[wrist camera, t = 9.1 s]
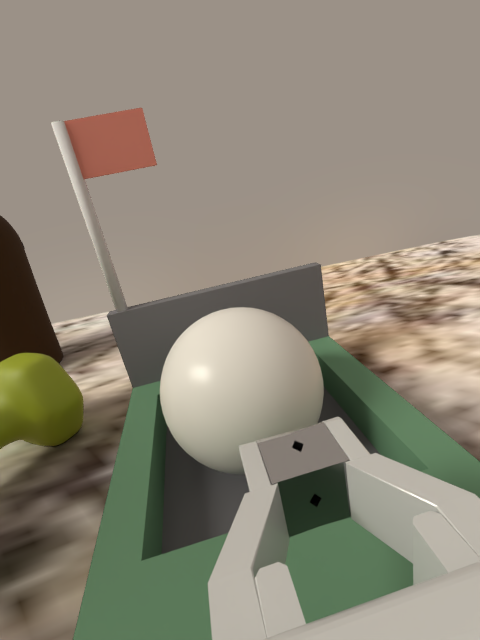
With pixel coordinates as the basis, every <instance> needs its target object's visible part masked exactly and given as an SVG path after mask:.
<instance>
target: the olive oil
mask: <svg viewBox="0 0 480 640" xmlns="http://www.w3.org/2000/svg"><path fill="white" fill-rule="evenodd" d="M19 353H38V354H44V355H47V356H50V357H52V358H53V359H54V360H55V361H57V362H58V363H59V362H60V361H61V360H62V358H63V353H62V350H61V348H60V345H59V343H58V340H57V337H56V335H55V332H54V330H53V327H52V325H51V322H50V319H49V317H48V314H47V311H46V309H45V306H44V303H43V300H42V298H41V295H40V292H39V290H38V287H37V284H36V281H35V279H34V276H33V273H32V270H31V267H30V264H29V262H28V259H27V256H26V253H25V250H24V246H23V243H22V242H21V240H20V238H19V236H18V234H17V233H16V231H15V230H14V229H13V227H12V226H11V225H10V224H9V223H8V222H7V221H6V220H5V219H4V218H3V217H2V216H0V362H2V361H3V360H5V359H7V358H9V357H11V356H13V355H16V354H19Z"/></svg>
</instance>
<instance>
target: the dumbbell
mask: <svg viewBox="0 0 480 640" xmlns="http://www.w3.org/2000/svg"><path fill="white" fill-rule="evenodd" d="M82 422H83V396H82V393H81V391H80V390H79V388H78V386H77V385H76V383H75V382H74V381H73V380H72V378H71V377H70V376H69V375H68V374H67V372H66V371H65V370H64V369H63V368H62V366H61V365H60V364H59V363H58V362H57V361H55V360H54V359H53V358H52V357H50V356H47V355H44V354H38V353H19V354H16V355H13V356H11V357H9V358H7V359H5V360H3V361H2V362H0V449H1V448H3V447H4V446H6V445H7V444H9V443H11V442H14V441H17V440H24V441H27V442H29V443H32V444H36V445H41V446H56V445H60V444H62V443H64V442H65V441H67V440H68V439H69V438H71V437H72V436H73V435H74V434H76V433H77V432H78V431H79V429H80V428H81V426H82Z"/></svg>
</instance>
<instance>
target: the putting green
mask: <svg viewBox="0 0 480 640" xmlns="http://www.w3.org/2000/svg"><path fill="white" fill-rule="evenodd" d="M51 124H52V127H53V130H54V133H55V136H56V139H57V142H58V145H59V148H60V150H61V153H62V156H63V159H64V162H65V165H66V168H67V171H68V174H69V176H70V179H71V182H72V185H73V188H74V191H75V194H76V197H77V199H78V202H79V205H80V208H81V211H82V214H83V216H84V220H85V222H86V225H87V228H88V231H89V234H90V237H91V240H92V243H93V245H94V248H95V251H96V254H97V257H98V260H99V263H100V265H101V269H102V271H103V274H104V277H105V280H106V283H107V286H108V289H109V291H110V294H111V297H112V300H113V303H114V306H115V309H116V310H114V311H110V312H109V313H108V315H107V317H108V320H109V323H110V326H111V329H112V331H113V334H114V337H115V340H116V342H117V345H118V348H119V351H120V354H121V356H122V359H123V362H124V365H125V367H126V370H127V373H128V376H129V379H130V381H131V384H132V387H133V390H132V394H131V398H130V402H129V407H128V411H127V415H126V419H125V423H124V428H123V432H122V436H121V440H120V444H119V449H118V453H117V457H116V461H115V465H114V470H113V474H112V478H111V482H110V486H109V491H108V495H107V499H106V503H105V507H104V511H103V516H102V520H101V524H100V528H99V532H98V537H97V541H96V545H95V549H94V553H93V558H92V562H91V566H90V570H89V574H88V579H87V583H86V587H85V591H84V595H83V600H82V604H81V608H80V612H79V616H78V621H77V625H76V629H75V633H74V637H73V640H212V632H211V619H210V607H209V594H208V581H209V579H210V577H211V574H212V572H213V569H214V567H215V564H216V562H217V560H218V557H219V555H220V552H221V550H222V548H223V545H224V543H225V540H226V538H227V535H228V533H229V531H230V528H231V526H232V523H233V521H234V518H235V516H236V514H237V511H238V509H239V506H240V504H241V502H242V499H243V497H244V494H245V493H248V492H249V488H248V484H247V480H246V476H245V474H242V475H237V474H229V473H224V472H220V471H217V470H214V469H211V468H209V467H207V466H205V465H203V464H201V463H199V462H198V461H196V460H195V459H194V458H193V457H191V456H190V455H189V454H188V453H186V452H185V451H184V449H183V448H182V447H181V446H180V445H179V444H178V443H177V441H176V440H175V438H174V437H173V435H172V434H171V432H170V430H169V428H168V426H167V424H166V421H165V418H164V415H163V412H162V407H161V402H160V381H161V375H162V370H163V366H164V363H165V361H166V358H167V356H168V354H169V352H170V350H171V348H172V346H173V345H174V343H175V342H176V340H177V339H178V338H179V337H180V335H181V334H182V333H183V332H184V331H185V330H186V329H187V328H188V327H190V326H191V325H192V324H193V323H195V322H196V321H198V320H199V319H201V318H202V317H204V316H206V315H208V314H210V313H213V312H216V311H219V310H223V309H228V308H236V307H247V308H256V309H261V310H264V311H267V312H270V313H273V314H275V315H277V316H279V317H281V318H283V319H284V320H286V321H287V322H289V323H290V324H292V325H293V326H294V327H295V328H296V329H297V330H298V331H299V332H300V333H301V334H302V335H303V336H304V337H305V338H306V340H307V341H308V342H309V344H310V346H311V347H312V349H313V350H314V353H315V355H316V357H317V359H318V362H319V365H320V368H321V372H322V377H323V386H324V395H323V405H322V410H321V414H320V418H319V420H318V423H320V422H322V421H325V420H328V419H332V418H335V417H340V418H342V420H343V421H344V422H345V423H346V425H347V426H348V427H349V428H350V430H351V431H352V432H353V433H354V434H355V436H356V437H357V438H358V439H359V441H360V442H361V443H362V444H363V446H364V447H365V448H366V449H367V451H368V452H369V453H370V454H374V453H377V454H380V455H382V456H384V457H387V458H389V459H392V460H394V461H396V462H399V463H401V464H404V465H406V466H408V467H411V468H413V469H416V470H418V471H420V472H423V473H425V474H428V475H430V476H432V477H435V478H437V479H440V480H442V481H444V482H447V483H449V484H452V485H454V486H456V487H459V488H461V489H464V490H466V491H468V492H471V493H473V494H475V495H476V496H477V497H479V498H480V462H479V461H478V460H477V459H476V458H475V457H473V456H472V455H471V454H470V453H469V452H467V451H466V450H465V449H464V448H463V447H461V446H460V445H459V444H458V443H457V442H455V441H454V440H453V439H452V438H451V437H449V436H448V435H447V434H446V433H445V432H443V431H442V430H441V429H440V428H439V427H437V426H436V425H435V424H434V423H433V422H431V421H430V420H429V419H428V418H427V417H425V416H424V415H423V414H422V413H420V412H419V411H418V410H417V409H416V408H414V407H413V406H412V405H411V404H410V403H408V402H407V401H406V400H405V399H404V398H402V397H401V396H400V395H399V394H398V393H396V392H395V391H394V390H393V389H392V388H390V387H389V386H388V385H387V384H386V383H384V382H383V381H382V380H381V379H380V378H378V377H377V376H376V375H375V374H374V373H372V372H371V371H370V370H369V369H368V368H366V367H365V366H364V365H363V364H362V363H360V362H359V361H358V360H357V359H355V358H354V357H353V356H352V355H351V354H349V353H348V352H347V351H346V350H345V349H343V348H342V347H341V346H340V345H339V344H337V343H336V342H335V341H334V340H333V339H331V338H330V337H329V335H328V326H327V317H326V308H325V299H324V290H323V281H322V272H321V265H320V264H318V263H311V264H307V265H303V266H298V267H294V268H290V269H286V270H282V271H277V272H273V273H269V274H265V275H261V276H256V277H252V278H249V279H244V280H240V281H236V282H232V283H227V284H223V285H219V286H215V287H211V288H206V289H202V290H198V291H194V292H189V293H185V294H181V295H177V296H173V297H169V298H164V299H161V300H156V301H152V302H148V303H144V304H139V305H135V306H131V307H127V305H126V302H125V299H124V296H123V293H122V290H121V287H120V284H119V281H118V278H117V275H116V272H115V269H114V266H113V263H112V260H111V257H110V254H109V251H108V248H107V245H106V242H105V239H104V236H103V233H102V230H101V227H100V224H99V221H98V218H97V215H96V212H95V209H94V206H93V203H92V200H91V197H90V194H89V191H88V188H87V185H86V182H85V179H88V178H93V177H98V176H103V175H109V174H114V173H119V172H124V171H129V170H134V169H139V168H145V167H149V166H155V165H157V163H156V160H155V156H154V152H153V148H152V144H151V140H150V136H149V133H148V129H147V125H146V121H145V117H144V113H143V109H142V108H136V109H131V110H125V111H119V112H114V113H108V114H102V115H96V116H91V117H86V118H80V119H74V120H68V121H55V122H52V123H51ZM289 539H290V540H289V546H288V551H287V557H286V562H285V565H287V567H288V570H289V573H290V576H291V579H292V582H293V585H294V588H295V591H296V594H297V597H298V600H299V604H300V607H301V610H302V613H303V616H304V619H305V622H306V624H307V623H310V622H313V621H315V620H318V619H321V618H324V617H327V616H329V615H332V614H335V613H338V612H340V611H343V610H346V609H349V608H351V607H354V606H357V605H360V604H363V603H365V602H368V601H371V600H374V599H376V598H379V597H382V596H385V595H387V594H390V593H393V592H396V591H398V590H401V589H404V588H407V587H409V586H412V585H413V563H411V562H410V561H409V560H407V559H406V558H405V557H403V556H402V555H400V554H399V553H398V552H396V551H395V550H394V549H392V548H391V547H389V546H388V545H387V544H385V543H384V542H383V541H381V540H380V539H378V538H377V537H376V536H374V535H373V534H372V533H370V532H369V531H367V530H366V529H365V528H363V527H362V526H361V525H359V524H358V523H356V522H355V521H354V520H352V519H351V517H350V518H346V519H343V520H340V521H336V522H333V523H329V524H326V525H323V526H319V527H317V528H314V529H311V530H308V531H306V532H303V533H300V534H297V535H295V536H292V537H289Z"/></svg>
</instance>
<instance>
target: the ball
mask: <svg viewBox="0 0 480 640" xmlns="http://www.w3.org/2000/svg"><path fill="white" fill-rule="evenodd" d="M323 395H324V386H323V377H322V372H321V368H320V365H319V362H318V359H317V357H316V355H315V353H314V350H313V349H312V347H311V346H310V344H309V342H308V341H307V340H306V338H305V337H304V336H303V335H302V334H301V333H300V332H299V331H298V330H297V329H296V328H295V327H294V326H293V325H292V324H290V323H289V322H287V321H286V320H284V319H283V318H281V317H279V316H277V315H275V314H273V313H270V312H267V311H264V310H261V309H256V308H247V307H236V308H228V309H223V310H219V311H216V312H213V313H210V314H208V315H206V316H204V317H202V318H201V319H199V320H198V321H196V322H195V323H193V324H192V325H191V326H190V327H188V328H187V329H186V330H185V331H184V332H183V333H182V334H181V335H180V337H179V338H178V339H177V340H176V342H175V343H174V345H173V346H172V348H171V350H170V352H169V354H168V356H167V358H166V361H165V363H164V366H163V370H162V375H161V381H160V402H161V407H162V412H163V415H164V418H165V421H166V424H167V426H168V428H169V430H170V432H171V434H172V435H173V437H174V438H175V440H176V441H177V443H178V444H179V445H180V446H181V447H182V448H183V449H184V451H185V452H186V453H188V454H189V455H190V456H191V457H193V458H194V459H195V460H196V461H198V462H199V463H201V464H203V465H205V466H207V467H209V468H211V469H214V470H217V471H220V472H224V473H229V474H237V475H242V474H245V472H244V468H243V464H242V460H241V456H240V452H239V446H240V445H243V444H247V443H251V442H254V441H255V442H256V441H257V440H261V439H264V438H268V437H272V436H276V435H279V434H283V433H287V432H290V431H294V430H297V429H300V428H304V427H307V426H310V425H314V424H317V423H318V420H319V418H320V414H321V410H322V405H323Z"/></svg>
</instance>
